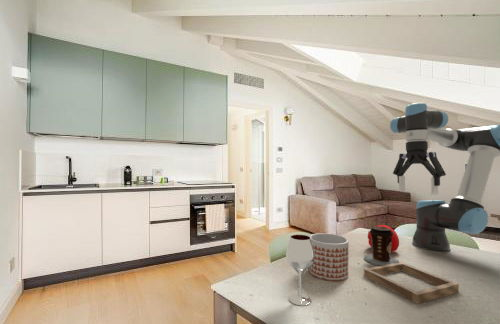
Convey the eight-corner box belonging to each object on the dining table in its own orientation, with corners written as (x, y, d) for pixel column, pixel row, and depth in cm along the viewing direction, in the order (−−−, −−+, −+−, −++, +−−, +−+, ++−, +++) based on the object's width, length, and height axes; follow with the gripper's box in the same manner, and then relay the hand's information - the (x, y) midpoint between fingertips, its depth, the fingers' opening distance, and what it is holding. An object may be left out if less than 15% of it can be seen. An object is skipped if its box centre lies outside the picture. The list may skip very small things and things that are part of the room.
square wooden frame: (401, 268, 94) (401, 262, 94) (458, 292, 77) (458, 284, 77) (364, 276, 87) (364, 268, 87) (417, 303, 70) (417, 294, 70)
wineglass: (319, 299, 71) (319, 237, 72) (305, 311, 65) (306, 243, 66) (295, 289, 77) (295, 232, 77) (280, 300, 71) (280, 237, 71)
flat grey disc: (379, 253, 111) (379, 252, 111) (407, 264, 98) (407, 263, 98) (357, 257, 106) (357, 255, 106) (383, 269, 94) (383, 267, 94)
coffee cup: (389, 256, 105) (389, 226, 106) (396, 264, 97) (396, 231, 97) (367, 255, 107) (367, 225, 107) (373, 262, 99) (373, 229, 99)
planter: (301, 271, 90) (301, 237, 91) (322, 262, 99) (322, 231, 99) (334, 285, 80) (335, 246, 80) (355, 274, 89) (355, 239, 89)
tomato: (400, 259, 112) (370, 252, 122) (405, 234, 117) (376, 229, 127) (391, 249, 105) (360, 242, 116) (396, 222, 110) (366, 217, 121)
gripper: (383, 143, 112) (384, 190, 112) (443, 137, 88) (444, 196, 88) (395, 144, 114) (396, 189, 114) (456, 138, 91) (457, 195, 91)
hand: (417, 192), depth 101 cm, fingers open, 13 cm apart
